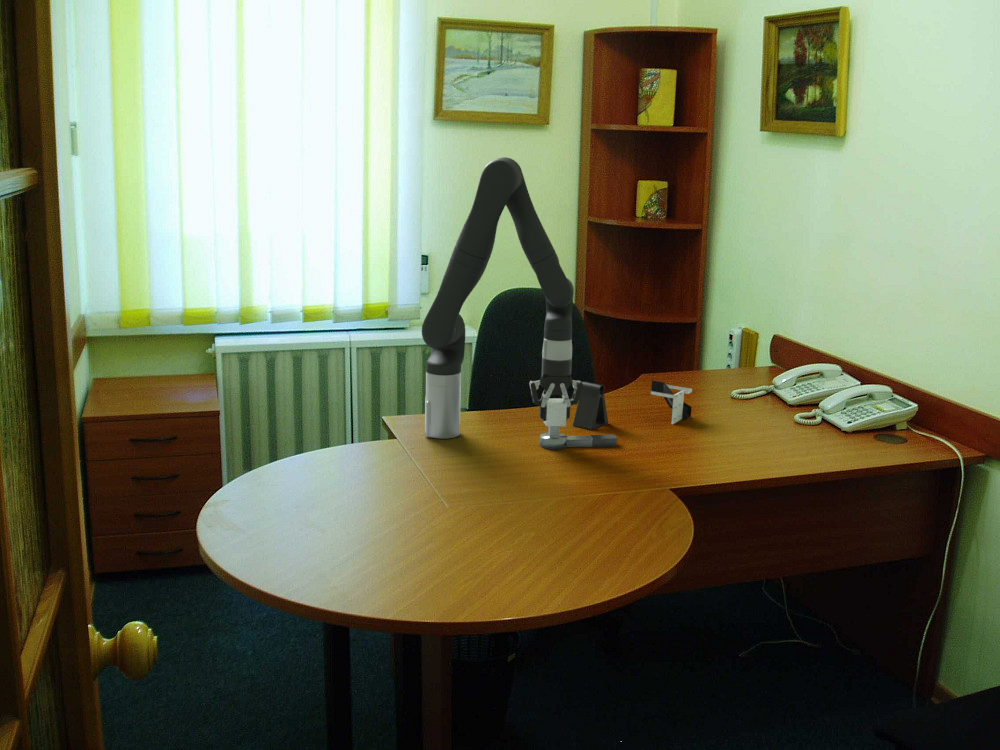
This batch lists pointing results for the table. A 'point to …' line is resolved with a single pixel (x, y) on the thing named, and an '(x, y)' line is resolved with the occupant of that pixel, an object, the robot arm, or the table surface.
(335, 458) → the table surface
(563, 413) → the small white cube
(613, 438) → the ratchet
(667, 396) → the two-tone angle bracket
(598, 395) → the dark folded stand
